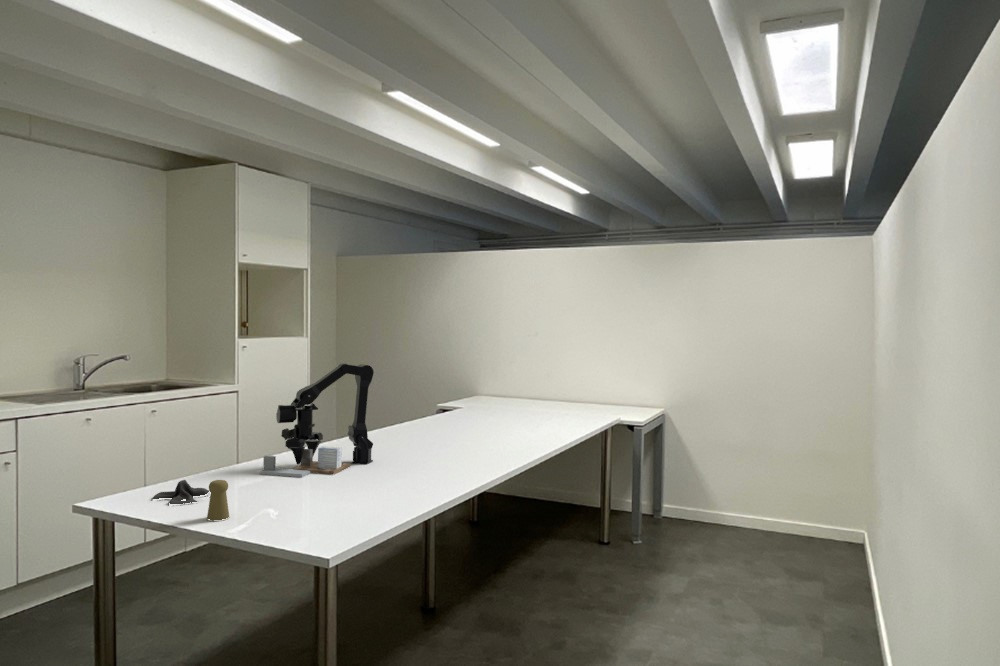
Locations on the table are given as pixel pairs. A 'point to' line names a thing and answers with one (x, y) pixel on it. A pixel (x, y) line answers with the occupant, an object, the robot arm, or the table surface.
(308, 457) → the brown wooden frame
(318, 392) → the robot arm
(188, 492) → the cloth
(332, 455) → the medicine box
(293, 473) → the grey strip
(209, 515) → the cork
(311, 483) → the table surface
